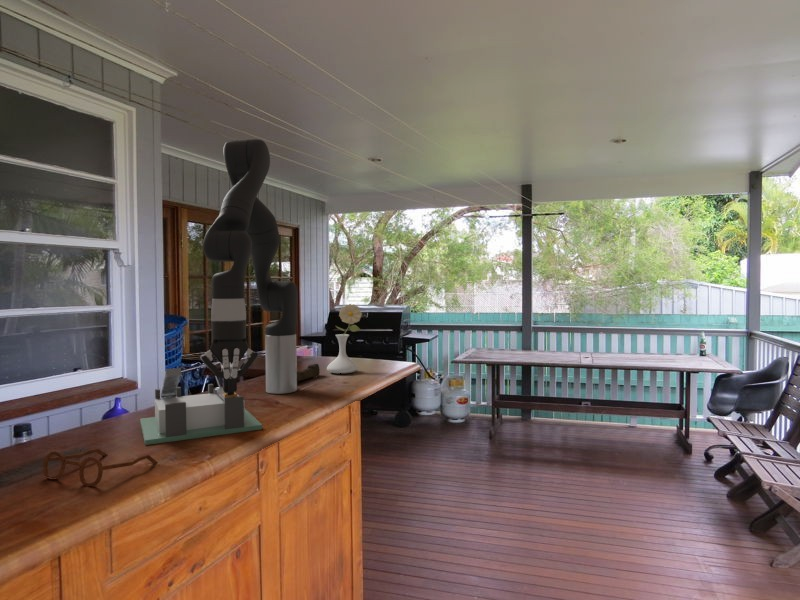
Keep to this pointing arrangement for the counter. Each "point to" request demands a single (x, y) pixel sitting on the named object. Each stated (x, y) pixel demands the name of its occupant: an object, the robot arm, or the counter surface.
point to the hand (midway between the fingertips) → (229, 394)
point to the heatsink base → (196, 417)
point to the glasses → (83, 463)
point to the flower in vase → (342, 361)
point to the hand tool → (308, 372)
